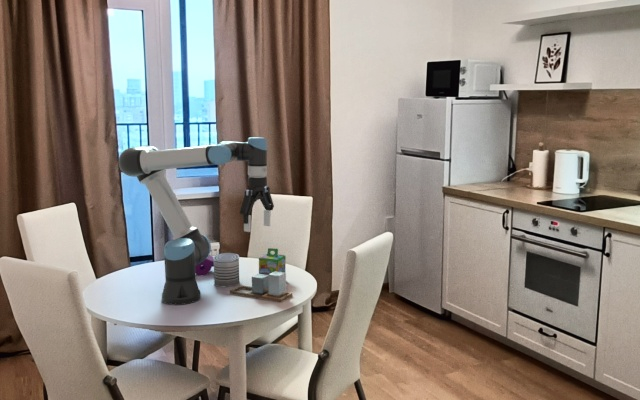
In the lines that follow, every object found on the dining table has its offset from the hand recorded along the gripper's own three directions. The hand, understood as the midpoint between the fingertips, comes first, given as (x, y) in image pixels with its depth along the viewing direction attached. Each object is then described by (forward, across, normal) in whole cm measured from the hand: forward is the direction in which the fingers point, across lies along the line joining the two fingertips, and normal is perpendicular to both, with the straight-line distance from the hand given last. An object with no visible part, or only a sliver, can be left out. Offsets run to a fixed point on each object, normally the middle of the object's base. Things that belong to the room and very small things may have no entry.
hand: (257, 228), depth 248 cm
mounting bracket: (+28, +16, +36) cm, 48 cm away
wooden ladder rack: (+27, -2, -3) cm, 27 cm away
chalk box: (+27, +15, +3) cm, 31 cm away
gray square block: (+27, -2, -3) cm, 27 cm away
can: (+28, +5, +19) cm, 34 cm away
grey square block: (+26, -2, -11) cm, 29 cm away
